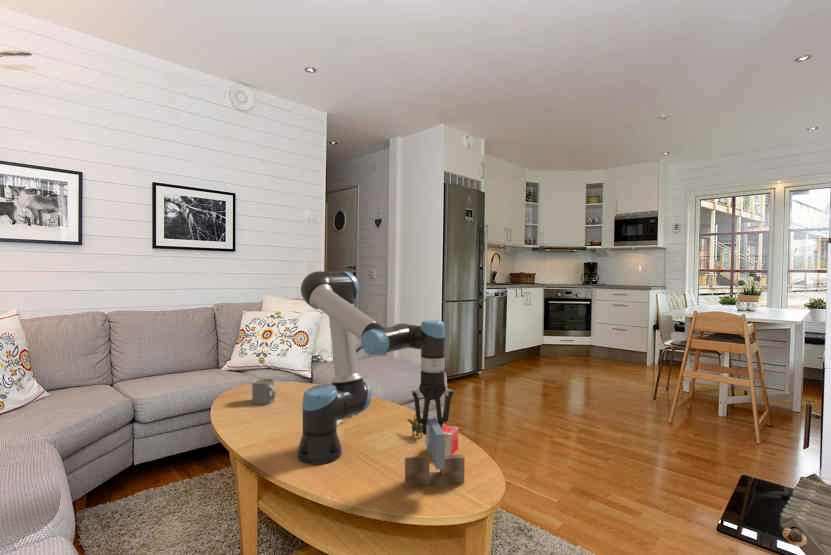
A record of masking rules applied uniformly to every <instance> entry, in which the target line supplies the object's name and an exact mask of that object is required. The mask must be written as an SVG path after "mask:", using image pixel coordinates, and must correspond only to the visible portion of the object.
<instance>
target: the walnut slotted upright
mask: <svg viewBox="0 0 831 555" xmlns="http://www.w3.org/2000/svg"><path fill="white" fill-rule="evenodd" d="M465 459H466V458H465V456H464V454H453V455H446V456H445V462H444V469H439V471H433V472H430V457H429V456H414V457H413V456H412V457H405V458H404V485H405V486H404V487H405V488H406V489H408V488H420V487H422V488H423V487H434V486H436V485H438V486H450V485H451V484H452V485H463V484H462V483H464V484H465ZM436 487H437V486H436Z"/></svg>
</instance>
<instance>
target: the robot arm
mask: <svg viewBox="0 0 831 555" xmlns="http://www.w3.org/2000/svg"><path fill="white" fill-rule="evenodd" d="M300 285H301V286H300V295H301V297H302V299H303V301H305V303H306V304H307V305H308V306H310V308H312V309H315V310H320V311H321V312H323V313H324V314H325V315H327V316H328V320H329V322H328V323H329V329H330V337H331V338H330V340H331V349H332V350H331V351H332V358H333V359H332V360H333V367H334V368H333V369H334V378H333V379H331V384H327V383H326V384H318V385H315V386H312V387H310V388H307V390H306V391H305V392H304V393H303V396H302V404H301V407H302V435H301V438H300V441H299V444H298V448H297V452H296V453H297V455H296V456H297V457H296V458H297V460H298V461H299V462H301V463H304V464H308V465H323V464H328V463H331V462H335V461H336V460H338V459H340V457H341V456H342V450H343V448H342V444H341V441H340V438H339V435H338V431H337V430H338V426H337V425H338V422H337V421H340V420H342V419H347V418H349V417H350V416H352V415H356V416H357V415H359V414H361V413H363V412H365V411H366V410H367V409H368V407H369V406H370V404H371V400H372V390H371V387H370V385H369V384H368V382H367V381H365V380H364V376H363V375H361V373H359V369H358V368H359V367H358V359H357V350H356V342H355V340H356V339H355V338H357V339H358V340H360V343H361V347H362V349H363V351H364V353H366V354H368V355H370V356H375V355H378V356H379V355H383V354H387V353H391V352H395V351H400V350H404V349H415V350H420V369H421V371H420V384H419V386H418V389H415V390H413V389H412V391H410V392H411V395H412V397H413V401H414V411H415V415H416V416H415V418H416V420H417V422H418V423H421V425H422V433H421V434H422V436H423V435H424V438H425V439H424V444H425V446H426V447H427V446H429V424H428V422H427V419H428V416H429V410H430V405H431V401H434V404H435V412H436V420H437V421H438V423H439V425H440V427H441V429H442V425H444V423H447V422H449V417H450V416H449V415H450V409H451V400H452V397H453V395H454V391H453V390H452V389H451V388H447V387H446V385H445V379H446V378H445V377H446V375H445V371H444V370H445V367H446V366H445V365H446V364H445V363H446V362H445V360H446V359H445V358H446V357H445V346H446V328H445V323H444V322H443V321H442V320H437V319H436V320H433V319H428V320H423V321H422V322H421V323H420V325H416V324H407V323H396V324H394V325H393V326H390V327H389V326H388V327H385V326H383V325H381V324H380V323H378V322H377V321H375V320H374V319H372V318H371V317H370V316H368V315H367V314H366V313H364V312H363V311H361V310H360V309H358V308H357V307H356V306H355V300H356V299H357V298H358V295H359V293H360V285H359V281H358V279H357V277H356V276H355V275H353V274H352V272H349V271H343V270H337V271H336V270H328V271H322V270H320V271H319V270H317V271H312V272H310V273H308V274H307V275H306V276H305V277H304V278H303V280H302V282H301V284H300ZM420 393H421V395H422V396H423V397H424V399H423V400H424V402H423V408H422V410H423V411H422V414H421V406H420V399H419V397H420V396H421V395H420ZM443 394H444V395H445V396H444V405H443V411H442V407H441V405H442V404H441V402H442V401H441V397H442V396H443ZM360 412H361V413H360ZM421 415H422V416H421Z"/></svg>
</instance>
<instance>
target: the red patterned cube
mask: <svg viewBox="0 0 831 555" xmlns="http://www.w3.org/2000/svg"><path fill="white" fill-rule="evenodd" d="M442 430H443V432H444V434H445V456H446V455H452V454H453V455H455V453H456V452H457V451H458V450H459V426H452V425H447V424H443V425H442ZM456 450H457V451H456ZM455 451H456V452H455ZM454 452H455V453H454Z"/></svg>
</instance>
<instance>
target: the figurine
mask: <svg viewBox="0 0 831 555" xmlns="http://www.w3.org/2000/svg"><path fill="white" fill-rule="evenodd" d="M406 420H407V421H408V422H409V423H410V424H411V431H412V432H411V433H412V436H413V437H416V436H417V439H418V440H419V439H421V438H422V439H423V433H422V424H421V423H418V422H417V420H416V414H414V415H413V420H412V418H406ZM419 435H420V436H419Z"/></svg>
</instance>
